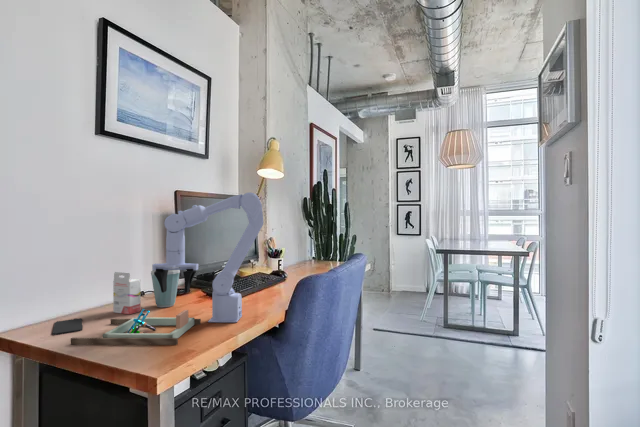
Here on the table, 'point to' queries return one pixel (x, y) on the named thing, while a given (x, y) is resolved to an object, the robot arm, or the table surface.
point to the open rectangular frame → (180, 321)
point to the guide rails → (127, 340)
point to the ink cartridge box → (126, 294)
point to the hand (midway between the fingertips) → (175, 291)
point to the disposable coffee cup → (170, 294)
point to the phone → (67, 326)
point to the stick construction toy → (140, 323)
